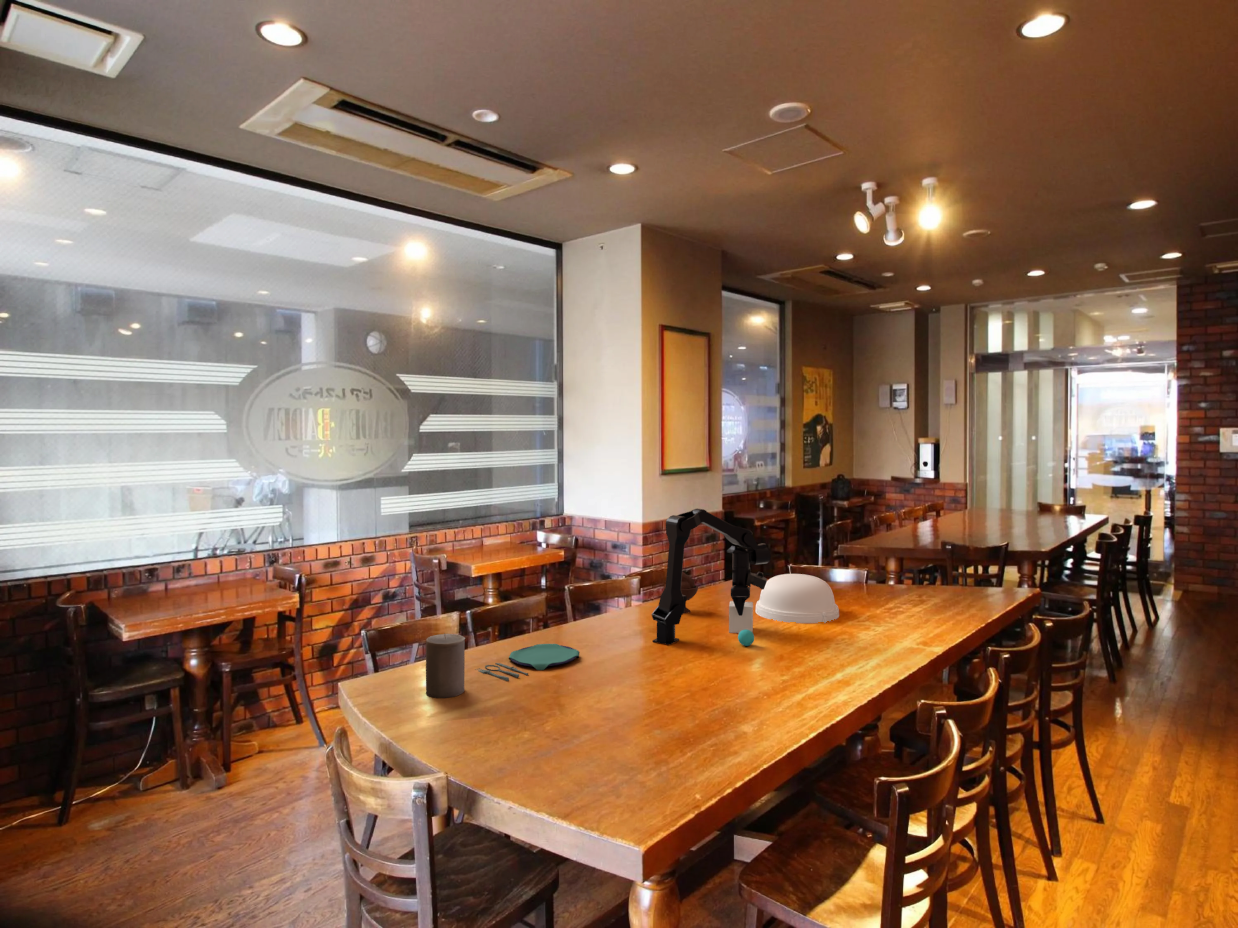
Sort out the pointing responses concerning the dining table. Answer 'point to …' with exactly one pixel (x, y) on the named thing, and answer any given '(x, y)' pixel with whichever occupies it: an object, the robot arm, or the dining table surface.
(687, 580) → the ice cream bowl
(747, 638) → the ball
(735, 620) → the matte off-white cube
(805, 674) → the dining table surface
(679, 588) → the robot arm
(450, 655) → the pillar candle
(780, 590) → the dome cover
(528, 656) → the cutlery set
